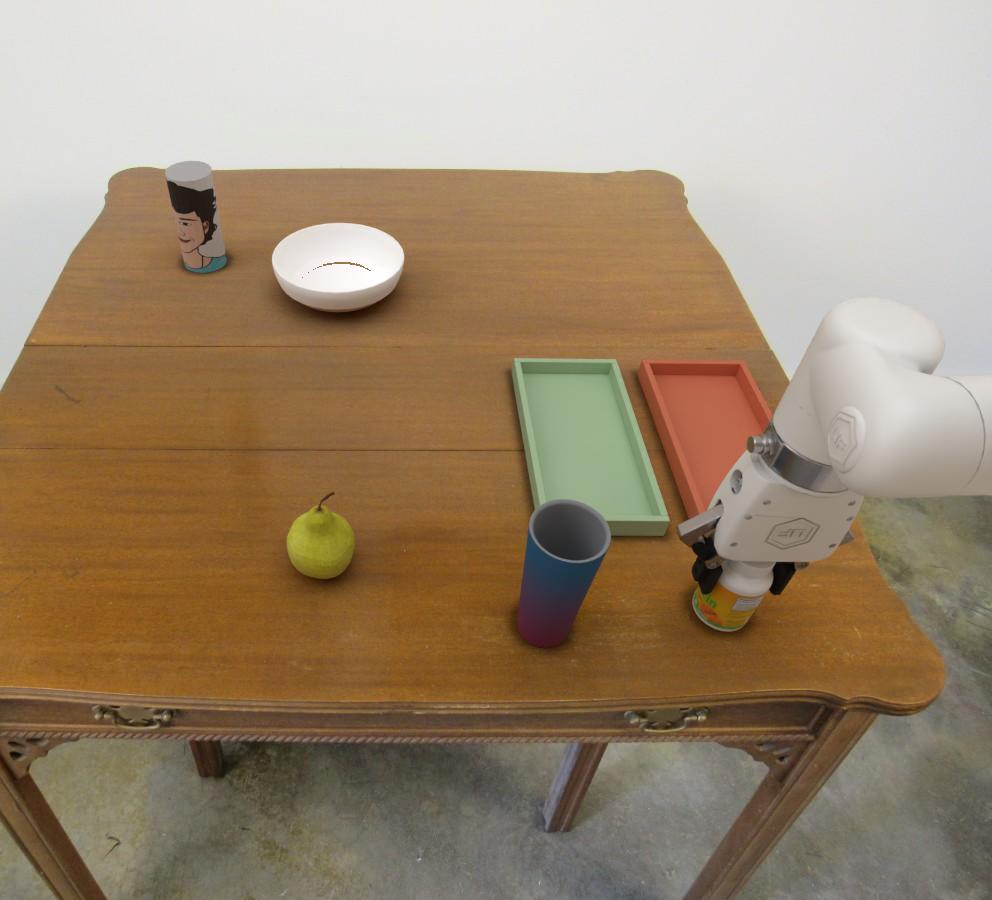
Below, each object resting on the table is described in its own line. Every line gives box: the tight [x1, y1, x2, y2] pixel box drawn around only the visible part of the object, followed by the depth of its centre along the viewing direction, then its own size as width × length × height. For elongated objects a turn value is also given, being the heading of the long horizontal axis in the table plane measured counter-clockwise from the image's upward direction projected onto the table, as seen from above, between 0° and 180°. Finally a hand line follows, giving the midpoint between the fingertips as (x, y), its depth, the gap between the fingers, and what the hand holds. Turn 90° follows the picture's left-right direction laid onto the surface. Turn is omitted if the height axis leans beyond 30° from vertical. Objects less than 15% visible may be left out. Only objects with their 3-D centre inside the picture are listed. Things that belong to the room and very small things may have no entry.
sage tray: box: [511, 357, 671, 537], centre depth 89 cm, size 28×14×3 cm, turn 0°
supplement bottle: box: [691, 559, 776, 633], centre depth 70 cm, size 5×5×10 cm
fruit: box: [286, 491, 356, 580], centre depth 73 cm, size 7×7×12 cm
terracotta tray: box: [636, 358, 773, 535], centre depth 89 cm, size 28×14×3 cm, turn 0°
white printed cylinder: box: [164, 160, 228, 274], centre depth 113 cm, size 7×7×15 cm
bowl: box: [271, 222, 405, 313], centre depth 111 cm, size 20×20×6 cm
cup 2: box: [516, 499, 612, 649], centre depth 67 cm, size 7×7×15 cm
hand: (735, 581), depth 70 cm, fingers open, 5 cm apart
